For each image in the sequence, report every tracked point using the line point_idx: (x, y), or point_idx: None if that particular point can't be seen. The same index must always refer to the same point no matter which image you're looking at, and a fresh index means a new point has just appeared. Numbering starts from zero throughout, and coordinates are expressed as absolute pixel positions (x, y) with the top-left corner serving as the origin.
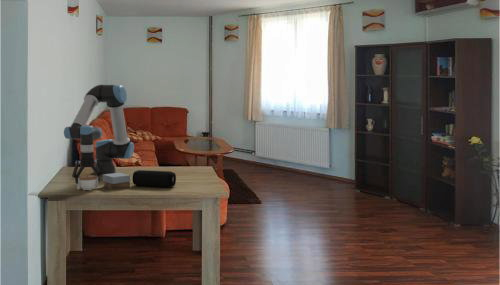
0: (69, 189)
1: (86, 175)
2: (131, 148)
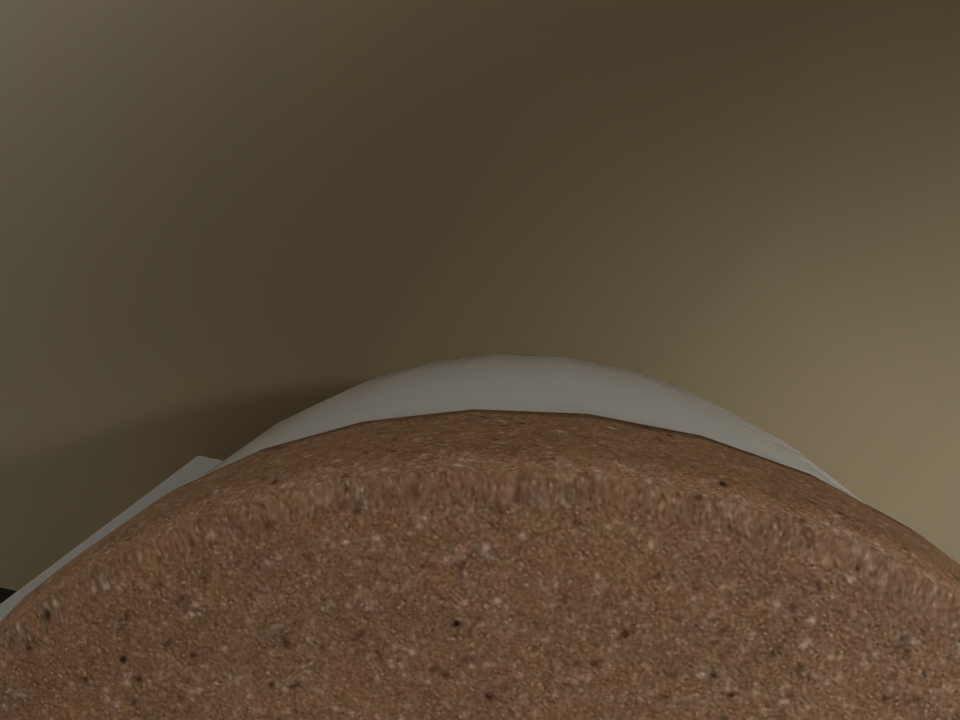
0: (86, 162)
1: (783, 688)
2: None
